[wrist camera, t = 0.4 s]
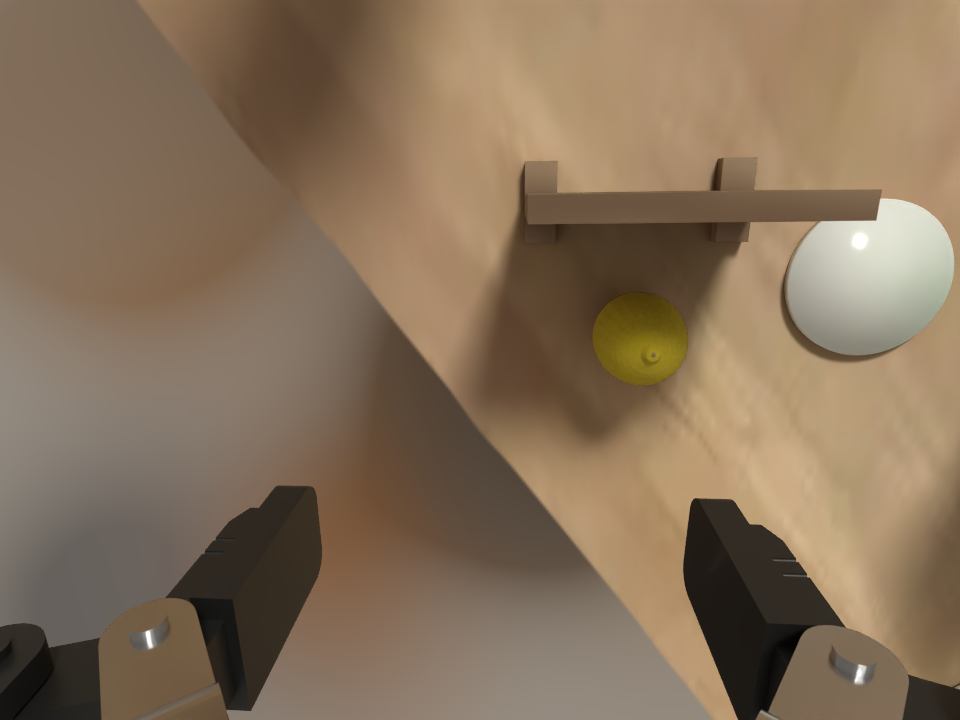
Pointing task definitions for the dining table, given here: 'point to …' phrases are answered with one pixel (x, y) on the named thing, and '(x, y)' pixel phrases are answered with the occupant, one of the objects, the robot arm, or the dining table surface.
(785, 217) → the walnut screen
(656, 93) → the dining table surface
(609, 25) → the dining table surface
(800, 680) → the robot arm
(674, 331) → the lemon
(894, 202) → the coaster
